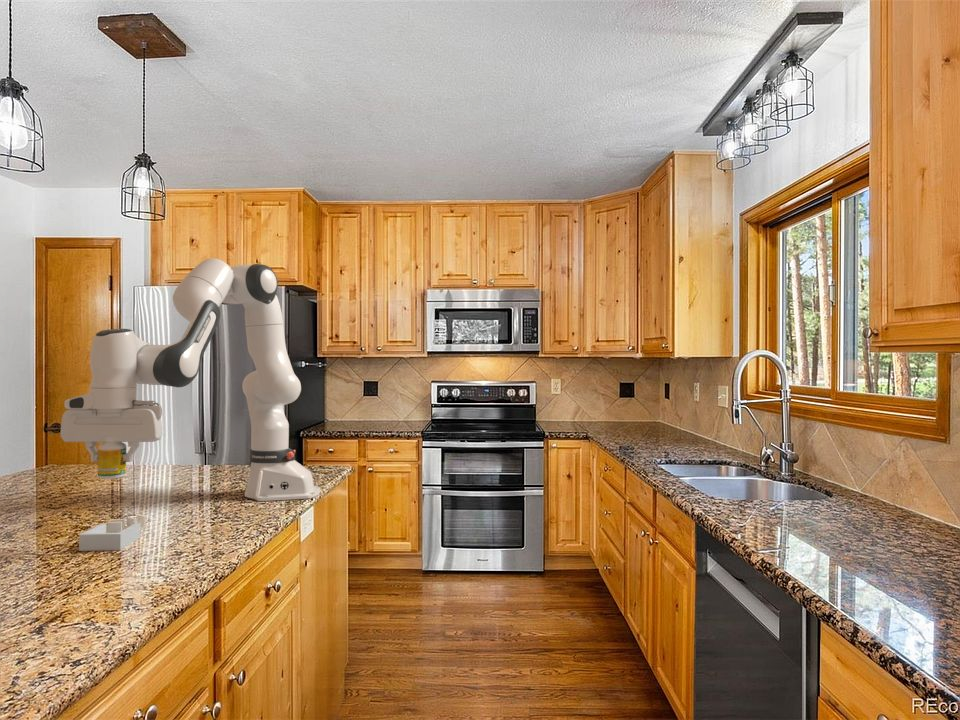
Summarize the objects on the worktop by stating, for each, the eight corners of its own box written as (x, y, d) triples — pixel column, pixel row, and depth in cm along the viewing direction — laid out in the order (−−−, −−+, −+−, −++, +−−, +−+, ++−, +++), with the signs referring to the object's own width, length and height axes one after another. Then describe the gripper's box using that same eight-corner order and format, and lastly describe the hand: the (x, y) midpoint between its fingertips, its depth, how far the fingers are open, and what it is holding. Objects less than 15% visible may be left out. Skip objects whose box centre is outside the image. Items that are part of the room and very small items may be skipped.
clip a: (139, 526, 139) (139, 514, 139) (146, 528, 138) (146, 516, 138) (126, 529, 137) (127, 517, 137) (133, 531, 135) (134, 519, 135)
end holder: (140, 537, 130) (140, 522, 130) (120, 550, 122) (120, 534, 122) (101, 538, 130) (101, 523, 130) (78, 550, 121) (79, 534, 121)
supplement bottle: (99, 475, 127) (100, 433, 127) (127, 474, 129) (128, 432, 129) (95, 480, 122) (96, 436, 122) (124, 478, 125) (125, 435, 125)
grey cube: (111, 532, 134) (111, 519, 134) (125, 531, 135) (125, 518, 135) (106, 535, 132) (106, 523, 132) (120, 534, 132) (121, 522, 132)
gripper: (168, 399, 130) (167, 459, 130) (74, 399, 128) (73, 459, 128) (155, 401, 124) (154, 464, 124) (56, 401, 122) (55, 464, 122)
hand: (112, 461), depth 126 cm, fingers closed on supplement bottle, 5 cm apart
